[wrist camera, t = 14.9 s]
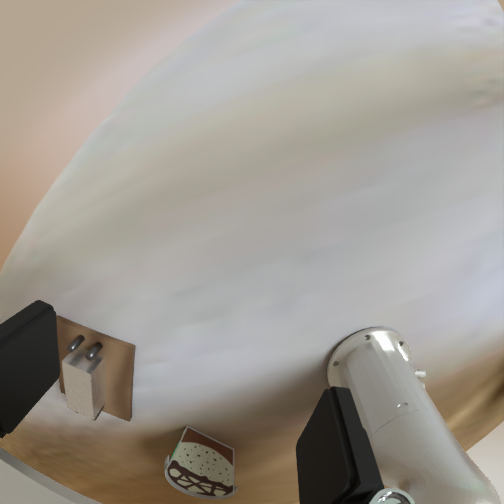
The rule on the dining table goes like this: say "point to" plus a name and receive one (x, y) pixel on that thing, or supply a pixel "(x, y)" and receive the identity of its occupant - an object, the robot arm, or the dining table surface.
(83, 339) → the tray pins
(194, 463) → the food container
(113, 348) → the tray
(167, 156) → the dining table surface
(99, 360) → the light grey block
